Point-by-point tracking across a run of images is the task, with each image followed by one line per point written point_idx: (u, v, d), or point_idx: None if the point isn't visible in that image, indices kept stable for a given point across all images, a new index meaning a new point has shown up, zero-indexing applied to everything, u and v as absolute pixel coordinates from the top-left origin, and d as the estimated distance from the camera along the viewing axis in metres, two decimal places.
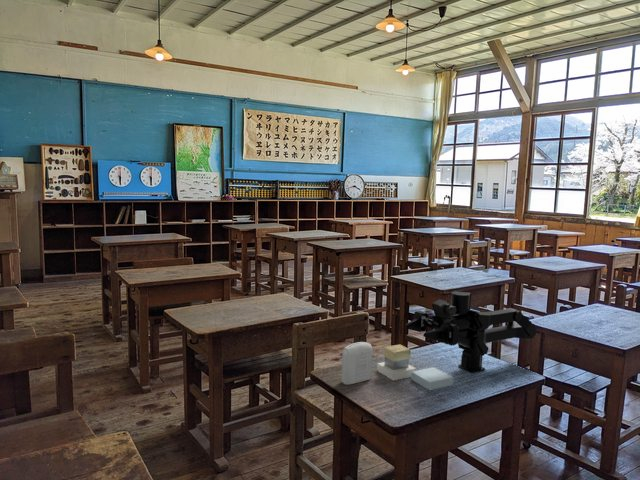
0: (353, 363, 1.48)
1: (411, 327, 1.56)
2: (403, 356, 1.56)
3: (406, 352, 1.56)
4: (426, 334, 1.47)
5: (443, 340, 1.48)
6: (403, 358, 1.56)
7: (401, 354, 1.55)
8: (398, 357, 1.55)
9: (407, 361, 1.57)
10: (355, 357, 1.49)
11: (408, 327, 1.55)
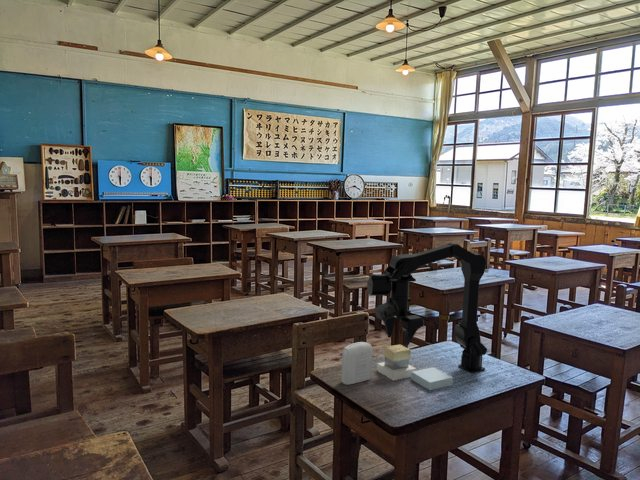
0: (353, 363, 1.48)
1: (391, 329, 1.62)
2: (403, 356, 1.56)
3: (406, 352, 1.56)
4: (406, 344, 1.53)
5: (416, 328, 1.52)
6: (403, 358, 1.56)
7: (401, 354, 1.55)
8: (398, 357, 1.55)
9: (407, 361, 1.57)
10: (355, 357, 1.49)
11: (390, 333, 1.62)
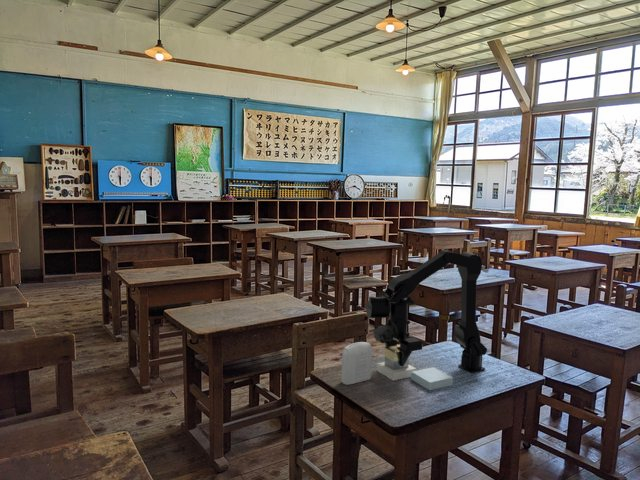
0: (353, 363, 1.48)
1: None
2: None
3: None
4: (402, 364, 1.56)
5: None
6: None
7: None
8: (398, 357, 1.55)
9: (407, 361, 1.57)
10: (355, 357, 1.49)
11: None
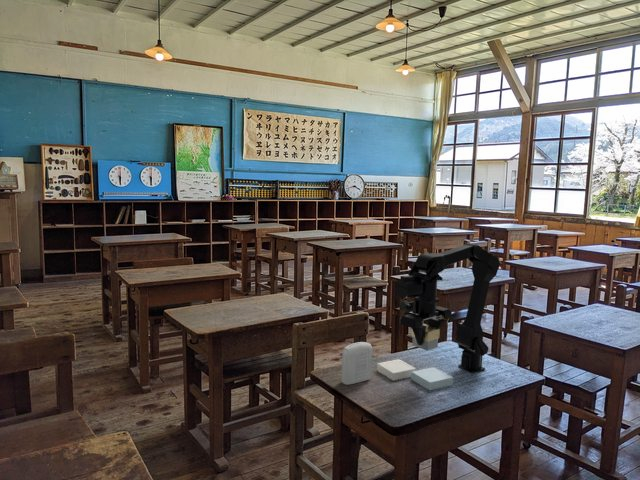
0: (353, 363, 1.48)
1: None
2: None
3: None
4: (418, 343, 1.51)
5: (420, 329, 1.47)
6: None
7: None
8: None
9: (426, 343, 1.49)
10: (355, 357, 1.49)
11: None
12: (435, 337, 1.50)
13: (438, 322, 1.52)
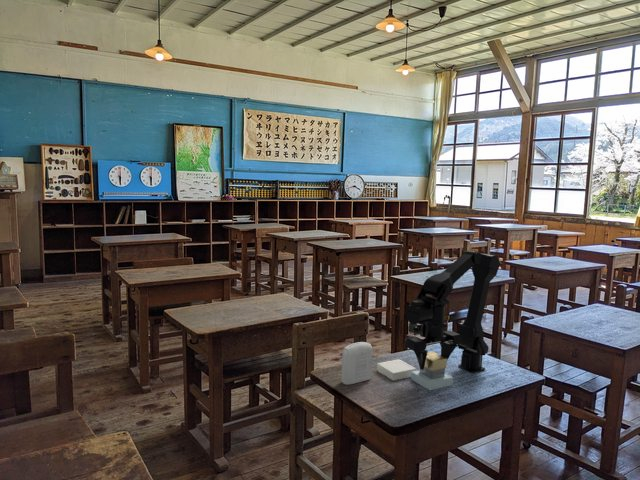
0: (353, 363, 1.48)
1: None
2: (426, 363, 1.50)
3: (429, 361, 1.49)
4: (420, 367, 1.50)
5: None
6: (426, 366, 1.50)
7: None
8: None
9: (431, 372, 1.49)
10: (355, 357, 1.49)
11: None
12: (441, 366, 1.49)
13: (449, 346, 1.51)
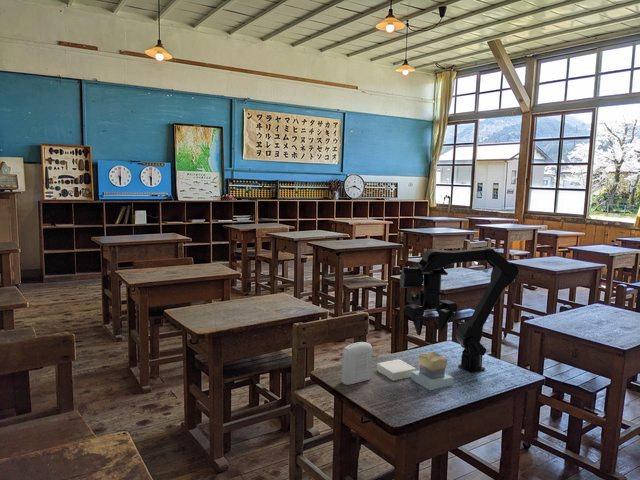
0: (353, 363, 1.48)
1: (441, 324, 1.63)
2: (426, 363, 1.50)
3: (429, 361, 1.49)
4: (417, 333, 1.59)
5: None
6: (426, 366, 1.50)
7: (424, 360, 1.51)
8: (422, 362, 1.52)
9: (431, 372, 1.49)
10: (355, 357, 1.49)
11: (440, 328, 1.63)
12: (441, 366, 1.49)
13: (446, 314, 1.61)
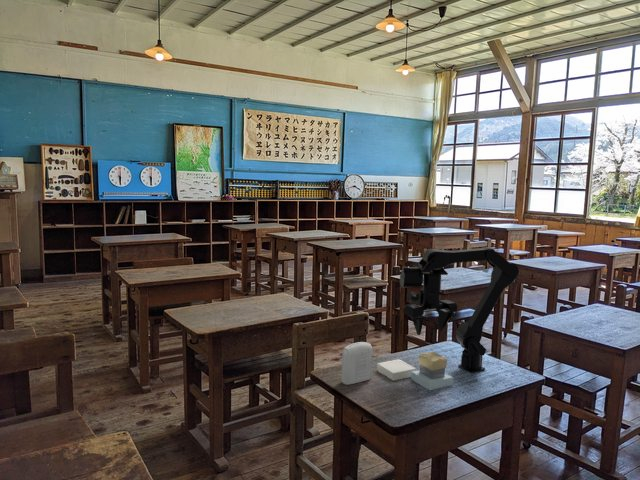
0: (353, 363, 1.48)
1: (441, 324, 1.63)
2: (426, 363, 1.50)
3: (429, 361, 1.49)
4: (417, 332, 1.59)
5: (418, 319, 1.56)
6: (426, 366, 1.50)
7: (424, 360, 1.51)
8: (422, 362, 1.52)
9: (431, 372, 1.49)
10: (355, 357, 1.49)
11: (440, 328, 1.63)
12: (441, 366, 1.49)
13: (446, 313, 1.61)
